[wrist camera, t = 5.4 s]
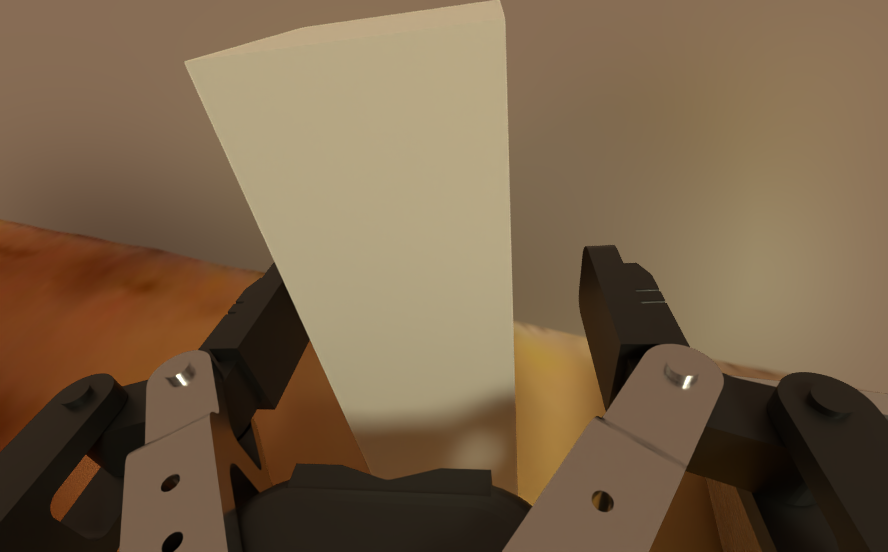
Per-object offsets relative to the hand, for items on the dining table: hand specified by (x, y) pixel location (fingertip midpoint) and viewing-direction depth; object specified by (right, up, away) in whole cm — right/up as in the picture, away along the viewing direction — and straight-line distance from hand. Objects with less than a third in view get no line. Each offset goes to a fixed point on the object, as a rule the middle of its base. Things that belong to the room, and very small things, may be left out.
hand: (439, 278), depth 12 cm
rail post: (+1, -9, +4) cm, 10 cm away
